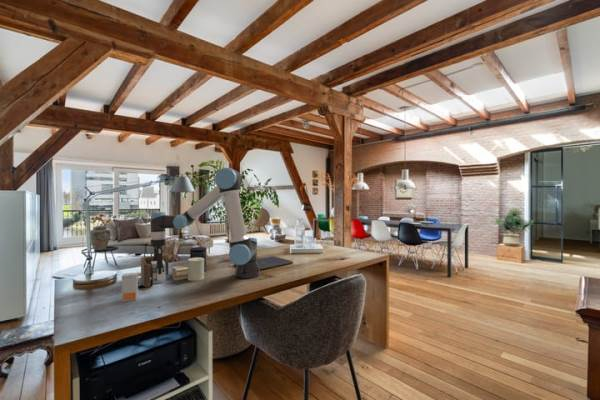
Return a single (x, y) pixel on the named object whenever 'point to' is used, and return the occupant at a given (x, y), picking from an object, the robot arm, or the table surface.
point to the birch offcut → (180, 270)
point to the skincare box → (129, 287)
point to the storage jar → (199, 254)
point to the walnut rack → (147, 268)
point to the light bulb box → (154, 272)
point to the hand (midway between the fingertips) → (158, 277)
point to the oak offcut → (179, 276)
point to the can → (195, 269)
